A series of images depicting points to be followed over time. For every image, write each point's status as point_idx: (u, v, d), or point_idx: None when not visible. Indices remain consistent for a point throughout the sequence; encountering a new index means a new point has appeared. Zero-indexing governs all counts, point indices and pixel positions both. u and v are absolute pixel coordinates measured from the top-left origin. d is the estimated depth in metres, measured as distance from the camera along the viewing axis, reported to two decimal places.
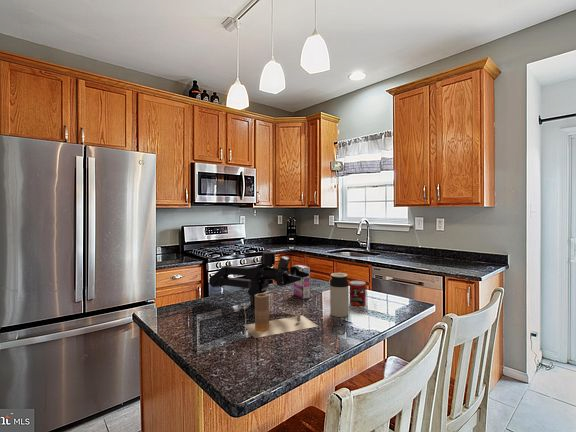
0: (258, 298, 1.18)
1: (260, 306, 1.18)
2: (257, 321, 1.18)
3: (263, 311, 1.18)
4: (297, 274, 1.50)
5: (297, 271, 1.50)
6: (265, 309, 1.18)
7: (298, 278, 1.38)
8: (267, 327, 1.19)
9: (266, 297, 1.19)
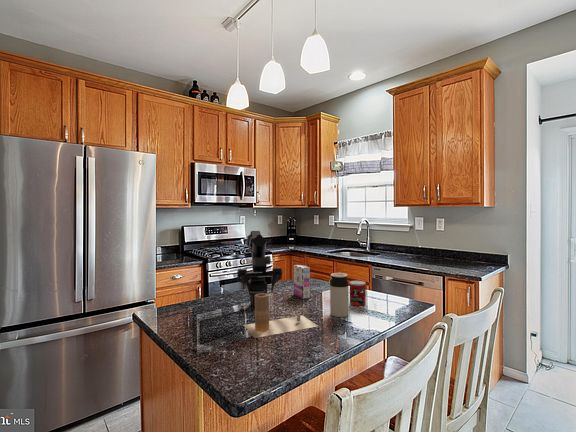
0: (258, 298, 1.18)
1: (260, 306, 1.18)
2: (257, 321, 1.18)
3: (263, 311, 1.18)
4: None
5: (272, 277, 1.32)
6: (265, 309, 1.18)
7: (248, 290, 1.27)
8: (267, 327, 1.19)
9: (266, 297, 1.19)
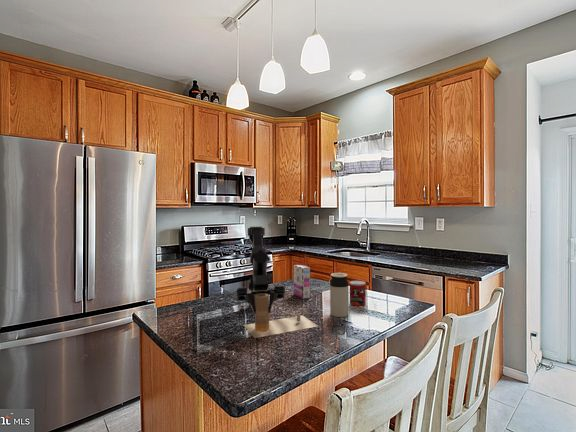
0: (258, 298, 1.18)
1: (260, 306, 1.18)
2: (257, 321, 1.18)
3: (263, 311, 1.18)
4: (269, 298, 1.24)
5: None
6: (265, 309, 1.18)
7: (253, 310, 1.19)
8: (267, 327, 1.19)
9: (266, 297, 1.19)
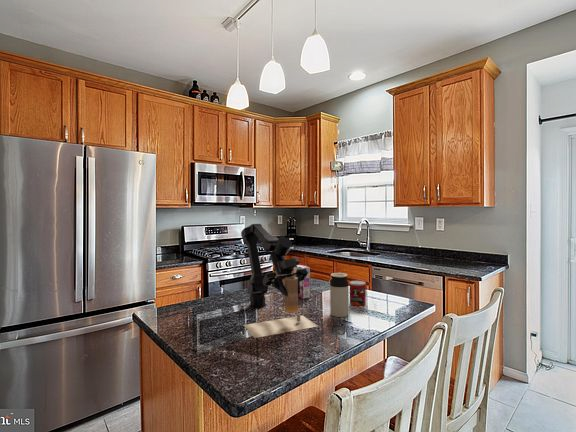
0: (290, 281, 1.22)
1: (293, 288, 1.22)
2: (289, 303, 1.22)
3: (295, 293, 1.23)
4: None
5: None
6: (296, 291, 1.23)
7: (284, 293, 1.22)
8: (297, 308, 1.24)
9: (297, 279, 1.24)
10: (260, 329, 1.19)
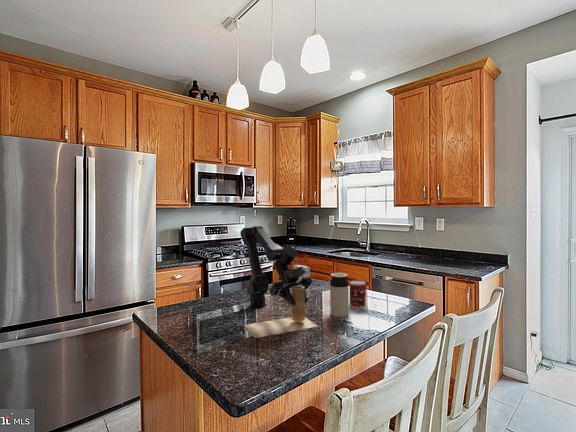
0: (298, 290, 1.24)
1: (301, 297, 1.24)
2: (297, 312, 1.24)
3: (303, 302, 1.25)
4: None
5: None
6: (304, 299, 1.26)
7: (292, 302, 1.24)
8: (304, 316, 1.27)
9: None
10: (260, 329, 1.19)
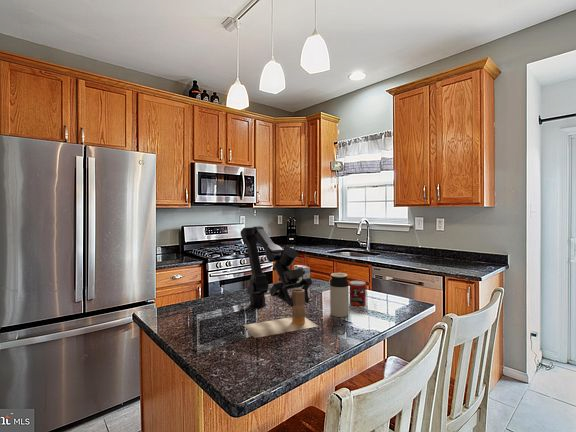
0: (298, 293, 1.24)
1: (301, 300, 1.24)
2: (297, 315, 1.24)
3: (302, 305, 1.25)
4: None
5: (303, 288, 1.31)
6: (304, 303, 1.26)
7: (290, 304, 1.24)
8: (304, 320, 1.27)
9: None
10: (260, 329, 1.19)
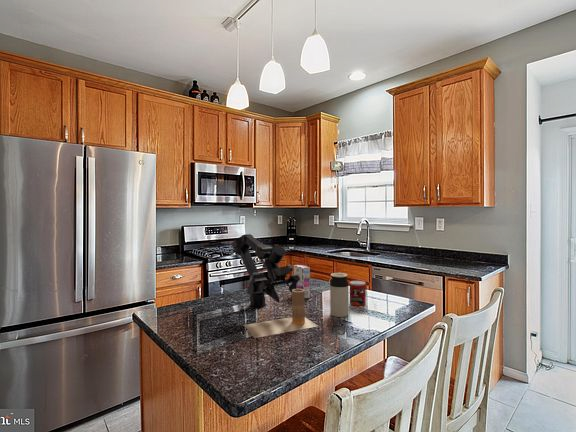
0: (298, 293, 1.24)
1: (301, 300, 1.24)
2: (297, 315, 1.24)
3: (302, 305, 1.25)
4: (291, 286, 1.39)
5: (292, 284, 1.38)
6: (304, 303, 1.26)
7: (277, 299, 1.30)
8: (304, 320, 1.27)
9: None
10: (260, 329, 1.19)
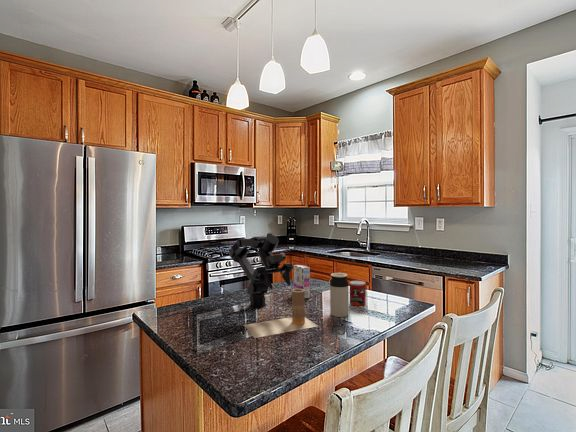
0: (298, 293, 1.24)
1: (301, 300, 1.24)
2: (297, 315, 1.24)
3: (302, 305, 1.25)
4: (284, 274, 1.43)
5: (285, 272, 1.42)
6: (304, 303, 1.26)
7: (270, 286, 1.34)
8: (304, 320, 1.27)
9: None
10: (260, 329, 1.19)
